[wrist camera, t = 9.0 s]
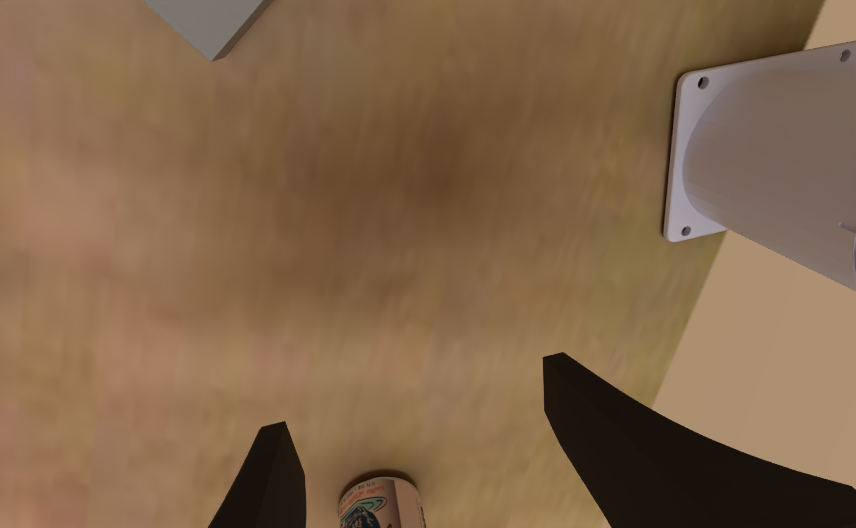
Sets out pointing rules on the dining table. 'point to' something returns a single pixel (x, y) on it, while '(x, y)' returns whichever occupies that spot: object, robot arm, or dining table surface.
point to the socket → (210, 21)
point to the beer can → (382, 505)
